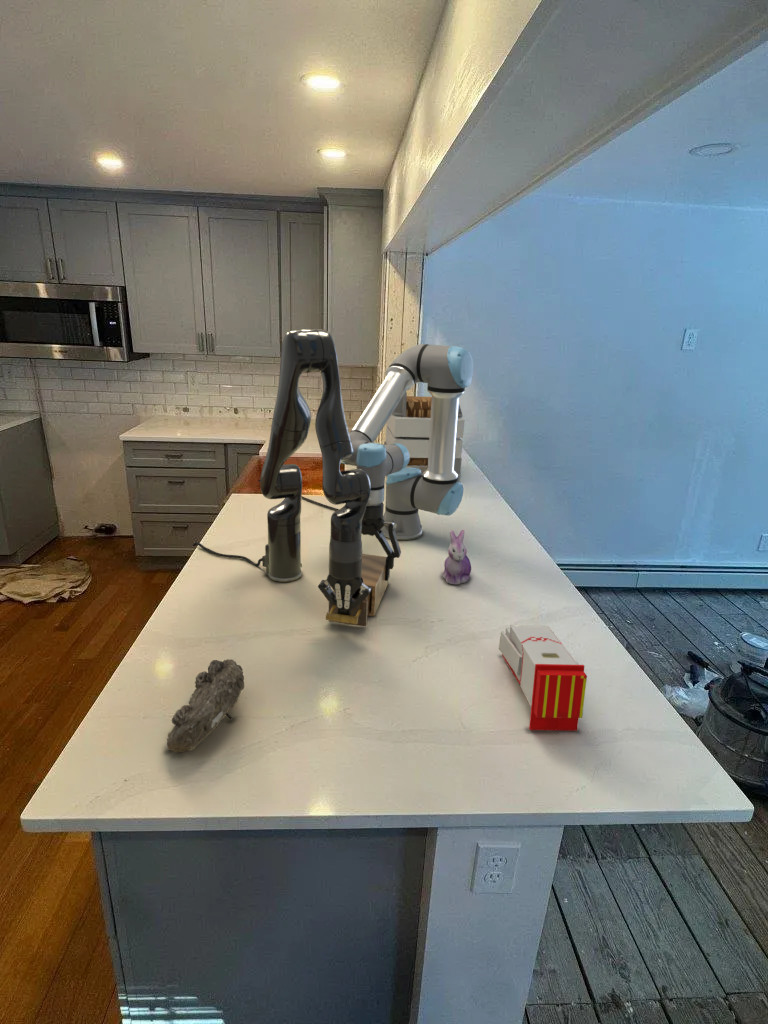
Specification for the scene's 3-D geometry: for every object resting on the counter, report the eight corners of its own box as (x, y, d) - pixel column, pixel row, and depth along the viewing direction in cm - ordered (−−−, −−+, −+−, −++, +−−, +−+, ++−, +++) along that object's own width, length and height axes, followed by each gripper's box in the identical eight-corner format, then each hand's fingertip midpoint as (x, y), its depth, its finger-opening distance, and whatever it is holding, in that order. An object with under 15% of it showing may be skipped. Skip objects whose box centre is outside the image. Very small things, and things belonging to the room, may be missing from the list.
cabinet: (374, 616, 146) (375, 586, 143) (333, 610, 148) (334, 581, 145) (388, 584, 163) (389, 557, 160) (351, 579, 165) (352, 552, 162)
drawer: (360, 639, 134) (360, 615, 131) (321, 634, 135) (321, 609, 133) (380, 593, 155) (381, 571, 153) (346, 589, 157) (347, 567, 155)
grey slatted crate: (382, 463, 289) (386, 382, 275) (445, 464, 293) (451, 384, 279) (390, 482, 257) (394, 392, 243) (460, 483, 261) (468, 394, 247)
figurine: (453, 588, 162) (457, 540, 157) (434, 573, 170) (437, 527, 165) (479, 582, 166) (485, 535, 161) (459, 568, 175) (464, 523, 170)
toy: (545, 610, 133) (596, 671, 104) (540, 662, 136) (588, 737, 106) (494, 609, 133) (530, 670, 103) (490, 662, 135) (524, 736, 106)
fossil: (192, 660, 117) (244, 628, 112) (224, 691, 120) (276, 661, 115) (142, 746, 98) (202, 712, 93) (182, 779, 101) (242, 748, 96)
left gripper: (312, 557, 128) (312, 624, 134) (370, 565, 125) (367, 632, 132) (322, 544, 135) (322, 608, 141) (377, 551, 132) (374, 615, 138)
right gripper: (323, 501, 150) (323, 576, 158) (410, 511, 146) (405, 587, 154) (331, 493, 157) (331, 565, 165) (414, 502, 153) (410, 575, 161)
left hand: (344, 619), depth 136 cm, fingers closed
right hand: (367, 576), depth 159 cm, fingers closed on cabinet, 11 cm apart
